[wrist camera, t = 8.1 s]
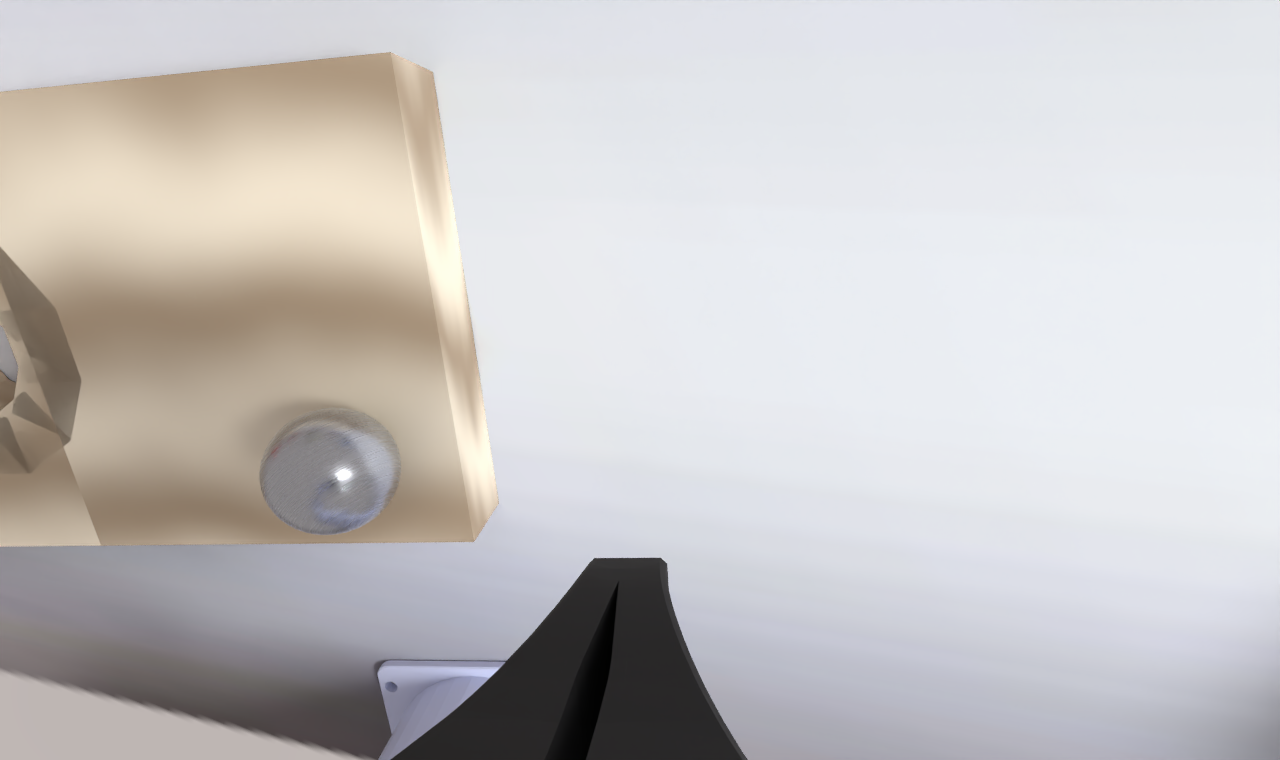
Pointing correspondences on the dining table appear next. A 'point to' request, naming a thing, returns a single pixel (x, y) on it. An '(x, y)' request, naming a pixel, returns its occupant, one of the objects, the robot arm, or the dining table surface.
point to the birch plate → (230, 301)
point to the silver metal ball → (330, 471)
